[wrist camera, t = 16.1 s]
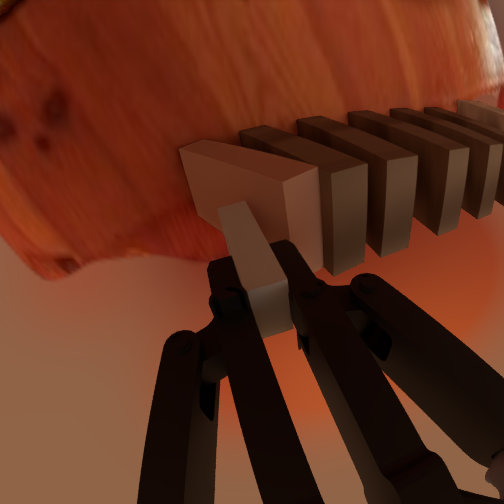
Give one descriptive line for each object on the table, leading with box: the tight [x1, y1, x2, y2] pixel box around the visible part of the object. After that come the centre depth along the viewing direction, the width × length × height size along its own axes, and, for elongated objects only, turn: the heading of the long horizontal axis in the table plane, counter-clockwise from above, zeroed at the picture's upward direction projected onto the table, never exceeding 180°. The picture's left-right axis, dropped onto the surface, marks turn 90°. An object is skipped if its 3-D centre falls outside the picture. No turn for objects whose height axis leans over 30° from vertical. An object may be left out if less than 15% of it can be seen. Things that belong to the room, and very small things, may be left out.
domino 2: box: [239, 125, 368, 276], centre depth 19 cm, size 6×2×12 cm, turn 11°
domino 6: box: [424, 107, 504, 206], centre depth 21 cm, size 6×2×12 cm, turn 11°
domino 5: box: [390, 108, 503, 219], centre depth 20 cm, size 6×2×12 cm, turn 11°
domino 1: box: [178, 139, 324, 273], centre depth 18 cm, size 6×2×12 cm, turn 11°
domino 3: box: [297, 116, 418, 258], centre depth 19 cm, size 6×2×12 cm, turn 11°
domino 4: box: [348, 110, 470, 236], centre depth 20 cm, size 6×2×12 cm, turn 11°
